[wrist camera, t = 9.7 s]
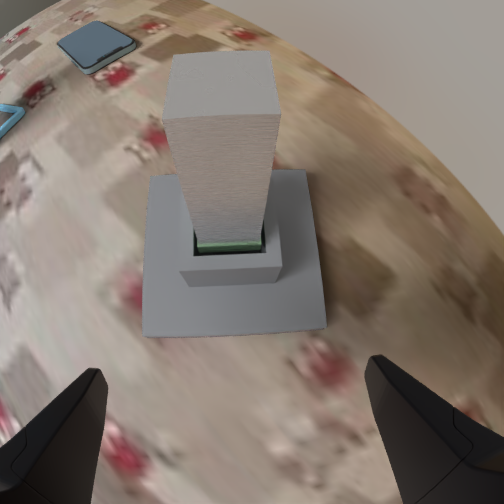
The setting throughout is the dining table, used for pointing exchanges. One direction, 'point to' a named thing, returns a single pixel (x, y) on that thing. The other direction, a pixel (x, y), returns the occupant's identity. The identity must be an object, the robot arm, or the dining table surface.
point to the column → (223, 142)
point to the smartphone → (95, 46)
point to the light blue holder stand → (13, 119)
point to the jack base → (232, 268)
